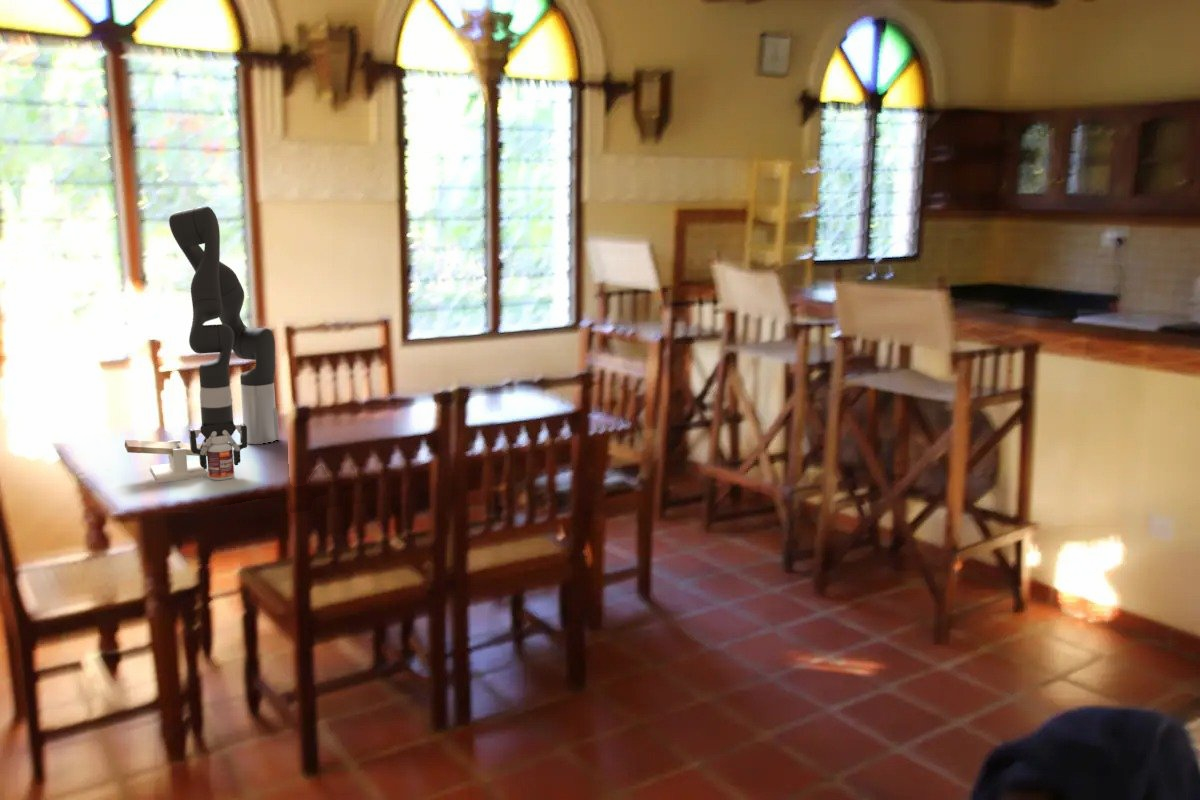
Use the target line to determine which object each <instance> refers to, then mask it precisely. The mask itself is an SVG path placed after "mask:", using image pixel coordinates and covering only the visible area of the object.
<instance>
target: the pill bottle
mask: <svg viewBox="0 0 1200 800" xmlns="http://www.w3.org/2000/svg"><path fill="white" fill-rule="evenodd" d="M228 438H229V437H228V436H224V435H221V436H215V437H213V438H212V443H211V445H210V446H209V448H208V449H207V456H206V460H207V470H208V472H207V474H208V478H209V479H210V480H213V481H225V480H230V479H232V478H233V477H234V476H235V470H234V469H235V468H234V466H235V465H234V458H233V450H234V449H233V447H232V445H231V444H230V443H229V441H228ZM210 440H211V439H210Z"/></svg>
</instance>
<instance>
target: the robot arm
mask: <svg viewBox="0 0 1200 800" xmlns="http://www.w3.org/2000/svg"><path fill="white" fill-rule="evenodd" d="M168 223H169V224H168V225H169V228H170V231H171V234H172V235H173V238H174V239H175V242H176V243H177V245H178V246H179V248H180V250H181V252H182V253H183V254H184V256H185V257H186V259H187V260H188V262H189V264H190V266H192V268H193V270H194V272H195V273H194V275H193V277H192V280H191V283H190V296H191V304H192V323H191V327H190V332H189V338H188V344H189V346H190V349H191V350H192V351H193V352H194V353H196V354H200V355H201V354H202V355H203V354H216V353H218V354H219V355H218V356H217V358H216V359H214V360H211V361H207V362H204V363H201V364H200V366H199V367H198V368H199V369H198V374H199V389H200V391H199V404H200V416H201V418H200V419H201V426H200V428H195V429H193V428H189V429H188V436H189V443H190V446H191V451H192V452H193V453H194V454H199V456H198V457H199V462H200V465H201V467H203V469H205V470H208V459H207V456H206V454H205V453H206V451H207V449H208V448H209V446H210V445H211V443H212V438H213V437H215V436H221V435H224V436H228V437H229V438H228V441H229V442H228V443H230V444H231V445H232V450H233V466H239V464H241V450H243V449H247V447H248V445H249V444H250V445H264V444H263V443H266V444H269V443H268V442H271V443H273V442H272V441H274V440H279V441H280V431H279V417H278V416H279V414H278V412H279V411H278V409H277V407H276V394H275V393H276V392H275V373H276V343H275V342H276V341H275V337H274V334H273V331H272V330H271V329H270V328H266V327H248V326H246V325H245V324H244V322H243V320H242V318H241V311H242V307H243V305H244V300H245V291H244V288H243V286H242V284H241V282H240V280H239V278H238V276H237V274H236V272H235V271H234V270H233V269H232V268H231V267H229V266H228V265H226V264H225V263H224V262H222V261H220V257H221V253H220V252H221V249H220V248H221V243H220V241H221V235H220V233H221V232H220V225H219V221H218V217H217V215H216V213H215V211H214V210H213V209H212V208H211V207H210V206H199V207H194V208H189V209H184V210H180V211H176V212H173V213H172V214H171V215H170V216H169V219H168ZM203 244H204V249H203V248H202V247H201V246H200V245H203ZM216 319H219V320H220V323H221V324H219V323H218V324H205V323H206V322H209V321H213V320H216ZM204 324H205V325H204ZM232 352H233V353H234V355H235V356H236V357H237V358H239V359H242V360H254V361H255V365H254V368H252V369H250V370H247V371H244V372H242V373H241V374H240V375H239V376H240V377H239V380H240V393H241V395H240V396H241V409H242V411H241V412H242V423H240V424H235V423H234V415H233V397H232V396H233V395H232V390H231V384H230V383H231V381H230V361H231V356H232ZM235 431H237V433H239V435H240V437H239V438H240V439H239V441H240V442H239V443H237V442H236V441H235V440H234V438H233V437H232V436H233V435H234V433H235ZM200 434H201V435H202V436H204V438H203V441H202V443H201V444H202V445H201V447H200V448H197V444H198V443H197V438H199V435H200ZM210 439H211V440H210Z"/></svg>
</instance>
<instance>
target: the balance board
mask: <svg viewBox="0 0 1200 800" xmlns="http://www.w3.org/2000/svg"><path fill="white" fill-rule="evenodd" d="M201 445H202V443H197V448H200V447H201ZM124 447H125V450H126V452H127V453H128V454H129V453H131V454H133V453H134V454H135V453H136V454H157V455H169V454H172V455H173V449H180V448H186V456H194V457H199V454H194V453H193V452H192V451H191V446H190V442H189V443H188V442H180V443H177V442H173V443H172V442H168V441H153V440H151V441H150V440H136V439H135V440H134V439H125V440H124ZM205 454H206V457H207V451H206V453H205Z"/></svg>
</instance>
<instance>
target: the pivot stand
mask: <svg viewBox="0 0 1200 800" xmlns="http://www.w3.org/2000/svg"><path fill="white" fill-rule="evenodd" d="M167 442H172V443H173V442H177V443H181V439H175V440H167ZM187 460H188V457H187V455H186V448H180V449H173V455H172V454H168V462H169V463H164V464H153V465H150V466H149V467H150V468H149V469H150V471H151V473H152V475H153V478H154V479H155V481H156V482H157V483H165V482H166V483H167V482H174V481H181V480H182V481H183V480H190V479H189V478H191V479H199V477H200V478H205V477H208V478H209V474H208V472H207V469H203V467H201V465H200V459H196V460H189V461H187Z"/></svg>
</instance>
